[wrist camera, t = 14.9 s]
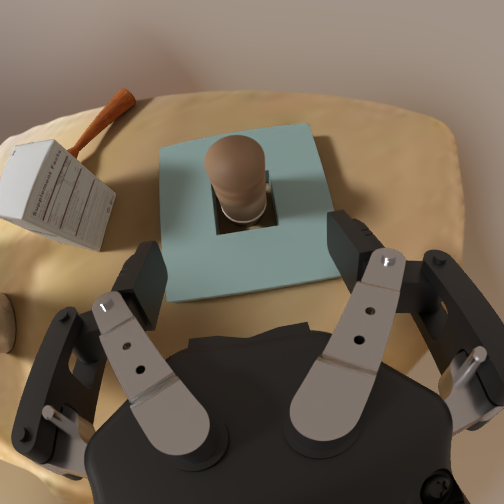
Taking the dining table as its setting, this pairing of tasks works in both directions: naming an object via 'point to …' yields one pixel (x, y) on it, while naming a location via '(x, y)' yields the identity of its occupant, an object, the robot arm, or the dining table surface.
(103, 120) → the kendama
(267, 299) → the dining table surface
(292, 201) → the board
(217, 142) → the peg
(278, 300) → the dining table surface
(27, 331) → the dining table surface
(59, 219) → the supplement box
